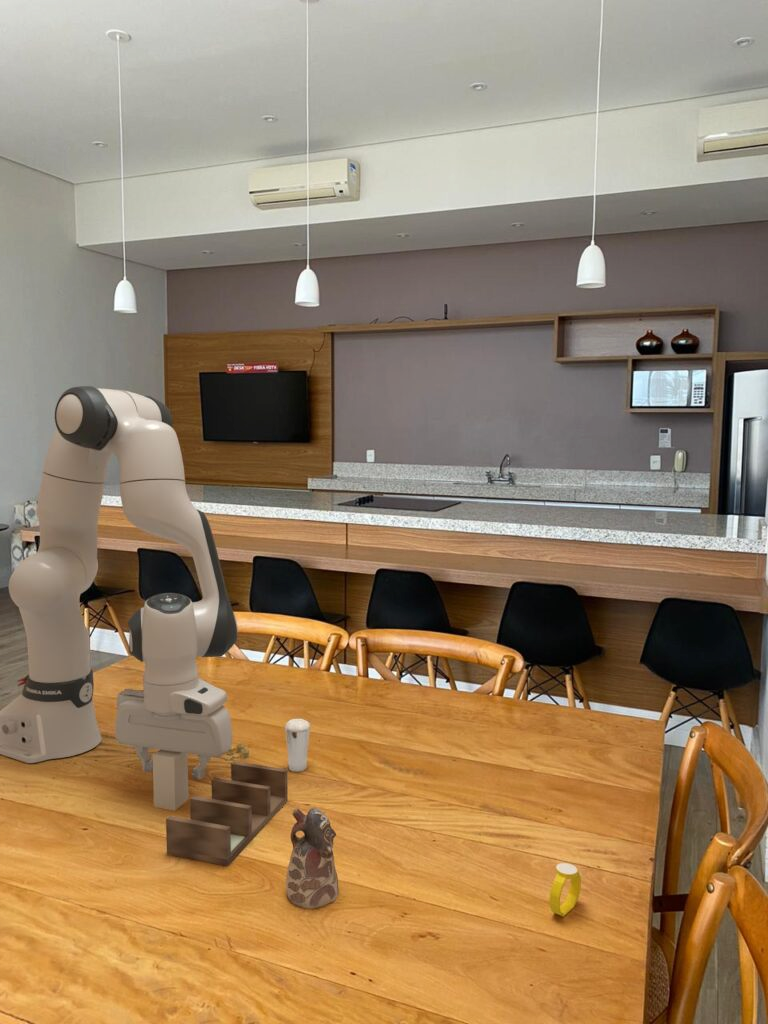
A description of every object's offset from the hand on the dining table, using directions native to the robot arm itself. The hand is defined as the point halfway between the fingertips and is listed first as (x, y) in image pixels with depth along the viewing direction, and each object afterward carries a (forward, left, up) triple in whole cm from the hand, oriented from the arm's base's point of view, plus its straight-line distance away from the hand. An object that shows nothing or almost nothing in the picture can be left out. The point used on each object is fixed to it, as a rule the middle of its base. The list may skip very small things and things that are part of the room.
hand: (173, 774), depth 133 cm
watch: (+65, -9, -5) cm, 66 cm away
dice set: (+1, +20, -6) cm, 21 cm away
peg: (0, 0, -5) cm, 5 cm away
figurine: (+32, -16, -5) cm, 36 cm away
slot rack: (+13, -4, -5) cm, 14 cm away
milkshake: (+15, +19, -5) cm, 24 cm away
